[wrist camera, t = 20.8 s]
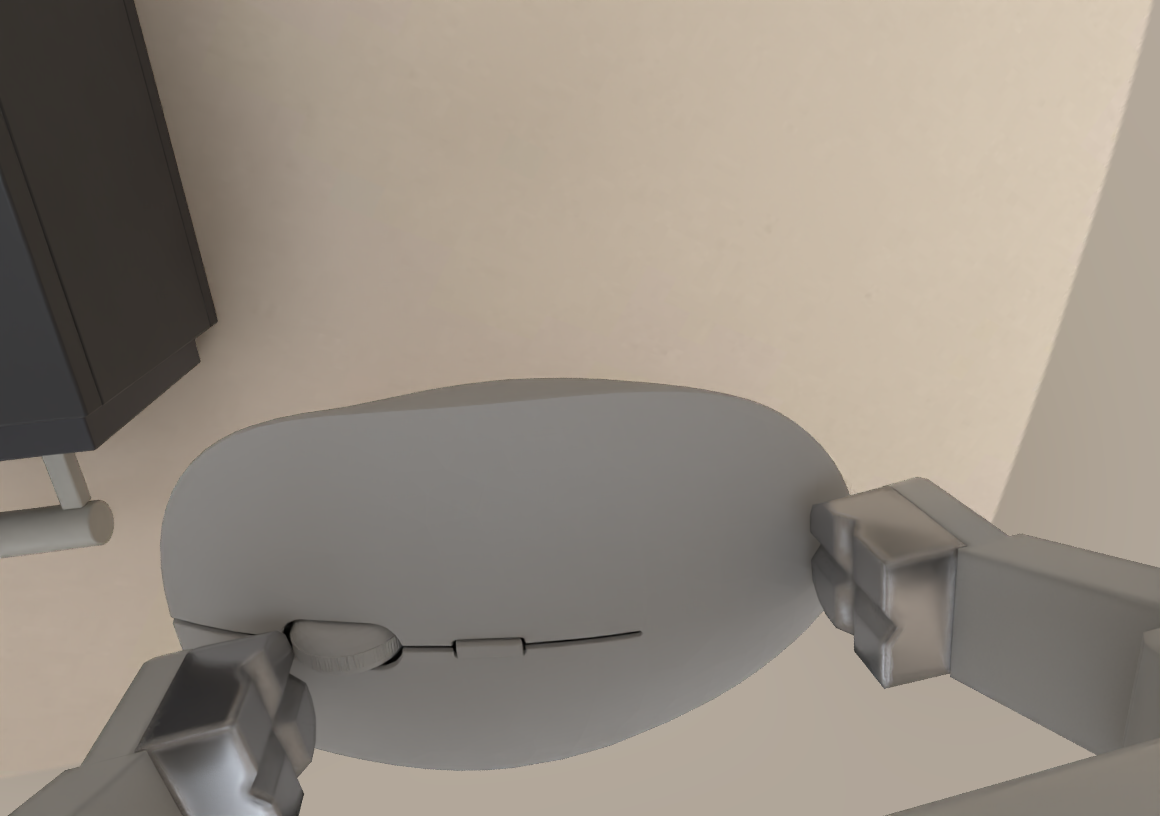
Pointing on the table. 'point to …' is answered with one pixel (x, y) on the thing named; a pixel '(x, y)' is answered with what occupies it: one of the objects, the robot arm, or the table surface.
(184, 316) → the cabinet
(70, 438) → the drawer
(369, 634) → the computer mouse
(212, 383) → the table surface
